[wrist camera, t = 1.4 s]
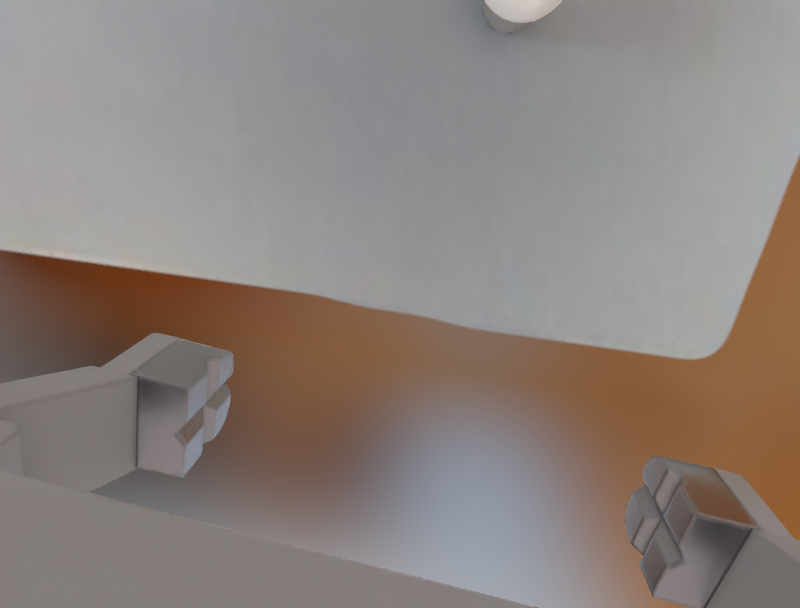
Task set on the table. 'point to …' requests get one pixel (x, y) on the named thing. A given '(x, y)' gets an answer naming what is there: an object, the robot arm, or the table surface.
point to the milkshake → (515, 13)
